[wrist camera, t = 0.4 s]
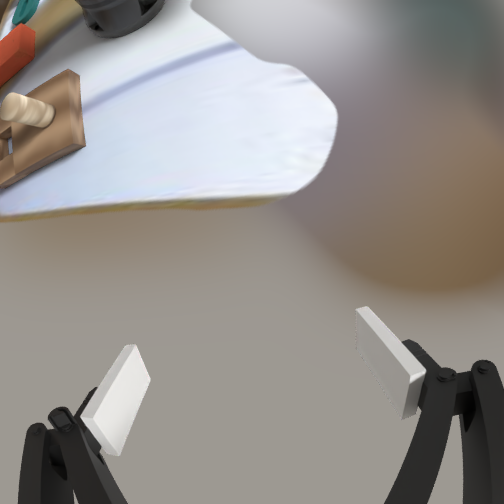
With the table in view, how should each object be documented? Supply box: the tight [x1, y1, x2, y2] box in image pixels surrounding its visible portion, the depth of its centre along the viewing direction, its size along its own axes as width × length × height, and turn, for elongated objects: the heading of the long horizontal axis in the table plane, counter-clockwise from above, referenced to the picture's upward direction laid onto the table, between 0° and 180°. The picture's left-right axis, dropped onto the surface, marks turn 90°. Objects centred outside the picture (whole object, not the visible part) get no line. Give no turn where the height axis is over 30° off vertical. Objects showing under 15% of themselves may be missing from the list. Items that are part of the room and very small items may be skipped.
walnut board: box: [0, 69, 86, 189], centre depth 30 cm, size 14×22×14 cm, turn 102°
